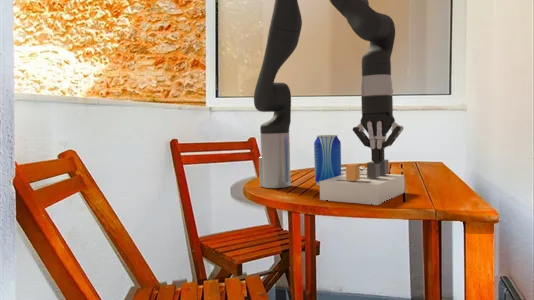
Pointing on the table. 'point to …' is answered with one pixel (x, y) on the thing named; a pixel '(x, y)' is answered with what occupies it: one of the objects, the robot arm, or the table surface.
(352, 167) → the block
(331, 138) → the beer can
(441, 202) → the table surface
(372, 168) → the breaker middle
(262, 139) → the robot arm
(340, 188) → the breaker panel
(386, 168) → the block
